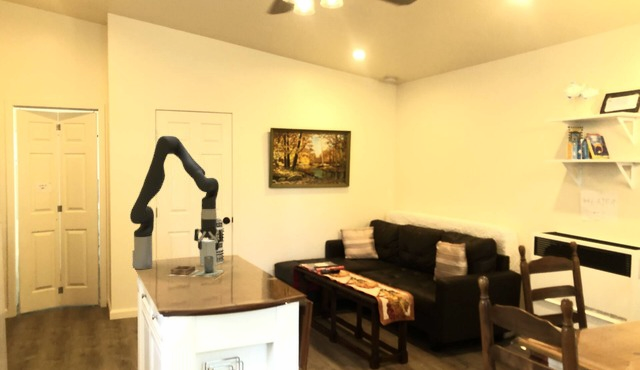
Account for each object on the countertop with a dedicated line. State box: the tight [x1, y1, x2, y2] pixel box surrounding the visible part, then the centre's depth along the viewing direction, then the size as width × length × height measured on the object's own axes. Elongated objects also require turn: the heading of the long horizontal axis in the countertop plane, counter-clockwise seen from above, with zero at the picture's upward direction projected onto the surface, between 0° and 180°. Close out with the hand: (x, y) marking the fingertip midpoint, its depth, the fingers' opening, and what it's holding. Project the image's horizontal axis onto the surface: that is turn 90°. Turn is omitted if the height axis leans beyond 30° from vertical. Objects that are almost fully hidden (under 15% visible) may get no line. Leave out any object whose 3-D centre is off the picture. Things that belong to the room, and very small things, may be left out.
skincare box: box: [199, 238, 218, 268], centre depth 259 cm, size 8×6×15 cm
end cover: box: [203, 256, 214, 273], centre depth 240 cm, size 4×4×8 cm
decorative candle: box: [207, 217, 225, 265], centre depth 272 cm, size 9×9×25 cm
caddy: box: [165, 265, 224, 280], centre depth 241 cm, size 25×14×4 cm, turn 83°
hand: (208, 249), depth 240 cm, fingers open, 8 cm apart
